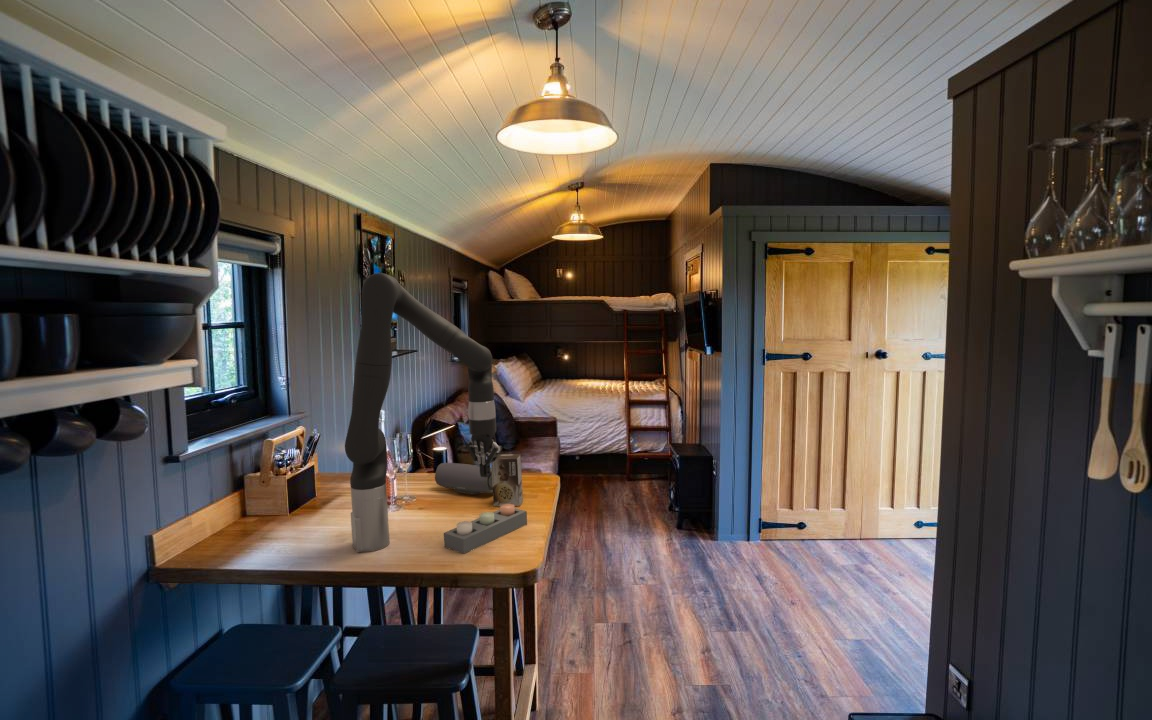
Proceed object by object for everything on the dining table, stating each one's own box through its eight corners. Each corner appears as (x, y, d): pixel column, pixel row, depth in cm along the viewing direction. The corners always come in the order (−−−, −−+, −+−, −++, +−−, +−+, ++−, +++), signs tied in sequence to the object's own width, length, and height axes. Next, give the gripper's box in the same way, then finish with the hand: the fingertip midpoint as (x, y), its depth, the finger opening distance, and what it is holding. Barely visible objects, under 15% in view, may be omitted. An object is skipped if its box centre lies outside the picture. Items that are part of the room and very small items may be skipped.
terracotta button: (508, 520, 166) (507, 509, 166) (497, 517, 169) (497, 506, 168) (517, 515, 169) (517, 505, 169) (507, 513, 172) (507, 502, 172)
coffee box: (523, 500, 192) (521, 453, 191) (519, 506, 186) (517, 458, 184) (497, 500, 193) (495, 453, 192) (492, 506, 187) (490, 458, 185)
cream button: (464, 539, 153) (463, 528, 152) (453, 536, 155) (453, 525, 155) (475, 534, 156) (475, 523, 156) (465, 531, 158) (464, 520, 158)
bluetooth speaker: (502, 491, 202) (500, 464, 201) (486, 499, 194) (485, 471, 193) (451, 484, 212) (449, 458, 211) (434, 492, 204) (433, 465, 203)
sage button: (487, 529, 159) (486, 518, 159) (476, 526, 162) (476, 515, 162) (497, 524, 163) (497, 513, 162) (487, 521, 165) (486, 511, 165)
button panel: (464, 553, 150) (463, 539, 150) (444, 547, 155) (443, 532, 155) (527, 524, 170) (526, 511, 170) (507, 518, 175) (507, 506, 174)
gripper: (508, 416, 159) (511, 476, 160) (475, 412, 166) (478, 470, 168) (489, 420, 153) (492, 483, 154) (456, 416, 160) (459, 476, 162)
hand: (485, 476), depth 161 cm, fingers closed
